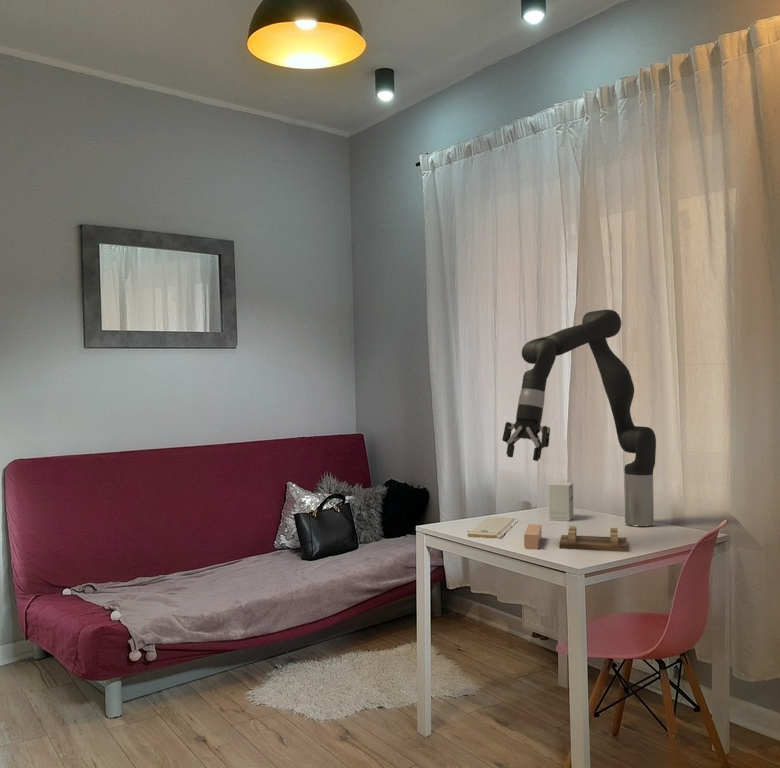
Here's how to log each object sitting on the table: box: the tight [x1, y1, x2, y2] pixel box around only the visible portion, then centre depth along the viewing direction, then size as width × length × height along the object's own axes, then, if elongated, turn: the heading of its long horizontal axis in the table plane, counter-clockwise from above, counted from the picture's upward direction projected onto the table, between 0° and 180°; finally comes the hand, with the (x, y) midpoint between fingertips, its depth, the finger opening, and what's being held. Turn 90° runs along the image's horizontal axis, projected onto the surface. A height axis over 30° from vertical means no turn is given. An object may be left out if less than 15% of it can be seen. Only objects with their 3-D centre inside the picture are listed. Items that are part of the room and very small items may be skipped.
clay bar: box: [523, 523, 543, 550], centre depth 226 cm, size 16×4×4 cm, turn 165°
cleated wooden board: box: [558, 525, 628, 552], centre depth 223 cm, size 12×19×4 cm, turn 74°
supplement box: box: [548, 481, 574, 521], centre depth 265 cm, size 7×7×13 cm
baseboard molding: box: [466, 516, 516, 540], centre depth 250 cm, size 31×3×12 cm
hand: (522, 458), depth 223 cm, fingers open, 8 cm apart
